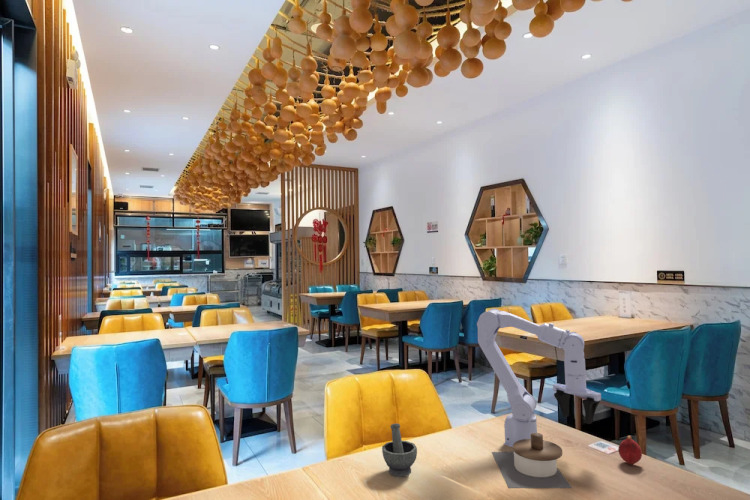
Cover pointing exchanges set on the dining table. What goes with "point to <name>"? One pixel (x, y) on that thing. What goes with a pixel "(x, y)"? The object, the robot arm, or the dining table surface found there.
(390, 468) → the mortar and pestle
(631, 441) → the onion
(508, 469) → the placemat
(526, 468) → the bowl
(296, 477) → the dining table surface
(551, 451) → the lid
